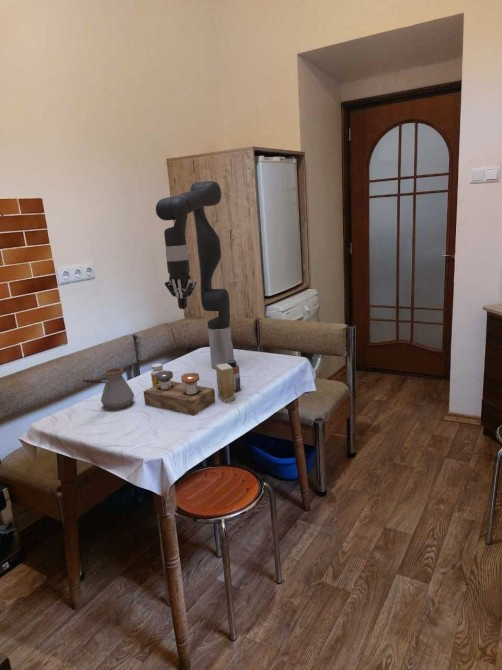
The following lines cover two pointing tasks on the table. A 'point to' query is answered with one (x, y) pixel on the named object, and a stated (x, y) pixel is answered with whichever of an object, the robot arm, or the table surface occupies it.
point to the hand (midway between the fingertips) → (182, 308)
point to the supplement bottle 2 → (235, 374)
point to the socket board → (179, 398)
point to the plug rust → (190, 383)
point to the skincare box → (225, 382)
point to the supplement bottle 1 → (155, 370)
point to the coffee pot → (114, 389)
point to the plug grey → (164, 379)
